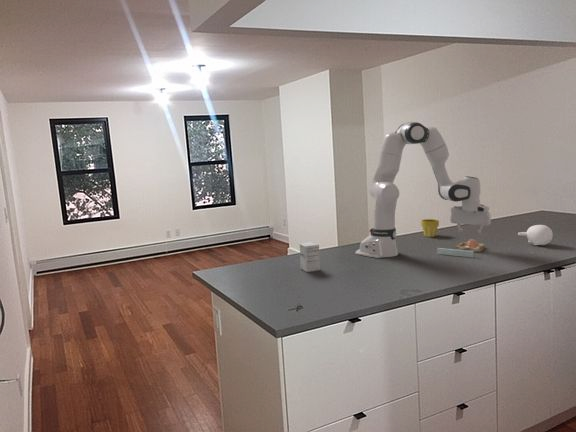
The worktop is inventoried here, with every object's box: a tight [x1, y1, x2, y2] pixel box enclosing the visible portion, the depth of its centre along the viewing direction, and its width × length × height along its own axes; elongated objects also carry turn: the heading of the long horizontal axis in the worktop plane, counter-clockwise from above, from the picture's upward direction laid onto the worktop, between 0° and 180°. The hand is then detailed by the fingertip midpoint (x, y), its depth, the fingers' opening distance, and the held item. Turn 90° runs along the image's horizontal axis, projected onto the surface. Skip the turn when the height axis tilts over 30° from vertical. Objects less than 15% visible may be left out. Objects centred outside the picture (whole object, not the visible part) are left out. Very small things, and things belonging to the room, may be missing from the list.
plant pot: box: [420, 218, 440, 238], centre depth 294 cm, size 10×10×10 cm
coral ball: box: [467, 238, 479, 248], centre depth 256 cm, size 5×5×5 cm
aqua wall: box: [436, 247, 475, 259], centre depth 245 cm, size 18×1×3 cm, turn 54°
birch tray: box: [455, 241, 486, 254], centre depth 257 cm, size 12×12×2 cm
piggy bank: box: [517, 224, 554, 246], centre depth 259 cm, size 12×12×15 cm
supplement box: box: [299, 241, 321, 273], centre depth 230 cm, size 7×7×13 cm
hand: (469, 232), depth 255 cm, fingers open, 8 cm apart
